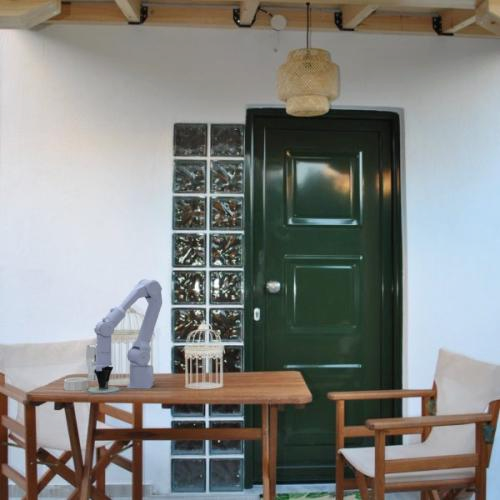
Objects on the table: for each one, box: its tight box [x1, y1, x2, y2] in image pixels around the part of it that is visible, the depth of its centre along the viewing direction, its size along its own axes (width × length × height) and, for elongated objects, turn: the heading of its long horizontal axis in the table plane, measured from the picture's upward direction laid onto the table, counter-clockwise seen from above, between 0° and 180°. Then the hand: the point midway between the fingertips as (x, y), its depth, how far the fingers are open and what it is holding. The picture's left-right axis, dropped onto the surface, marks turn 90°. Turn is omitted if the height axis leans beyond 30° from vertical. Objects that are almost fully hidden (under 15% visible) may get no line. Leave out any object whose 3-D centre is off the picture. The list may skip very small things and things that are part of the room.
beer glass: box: [85, 344, 98, 382], centre depth 278 cm, size 7×7×15 cm
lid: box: [87, 381, 120, 393], centre depth 256 cm, size 12×12×3 cm
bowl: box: [63, 377, 89, 392], centre depth 259 cm, size 9×9×4 cm
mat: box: [82, 386, 124, 395], centre depth 256 cm, size 13×13×1 cm
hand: (103, 386), depth 256 cm, fingers closed on lid, 4 cm apart
